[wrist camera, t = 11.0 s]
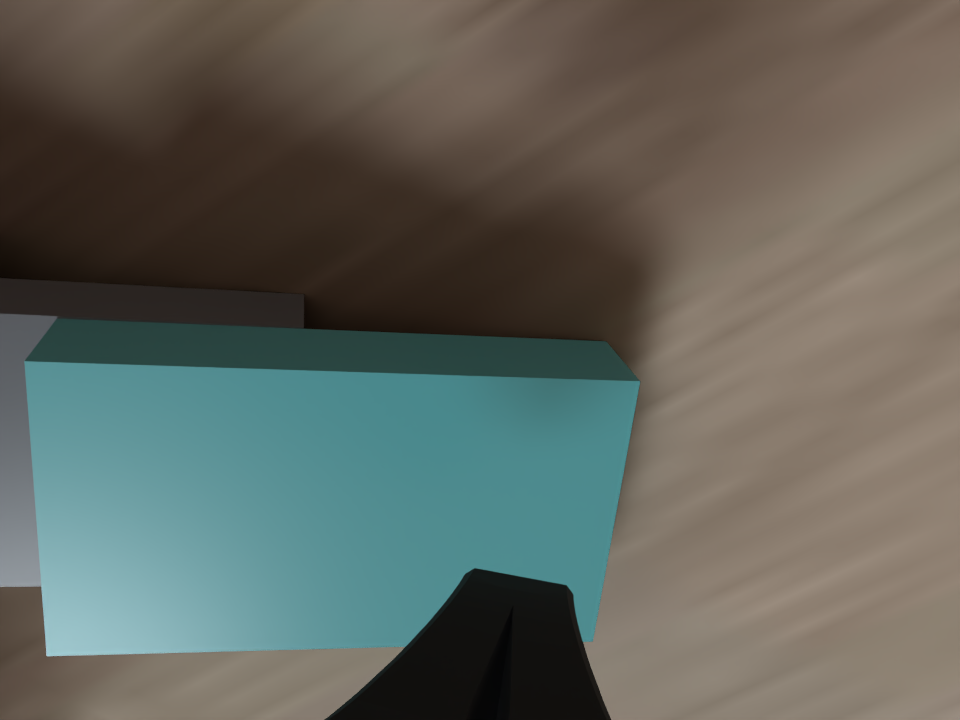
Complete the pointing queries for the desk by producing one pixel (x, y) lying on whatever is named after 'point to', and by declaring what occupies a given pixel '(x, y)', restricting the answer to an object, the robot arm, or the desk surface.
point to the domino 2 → (311, 480)
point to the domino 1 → (38, 303)
